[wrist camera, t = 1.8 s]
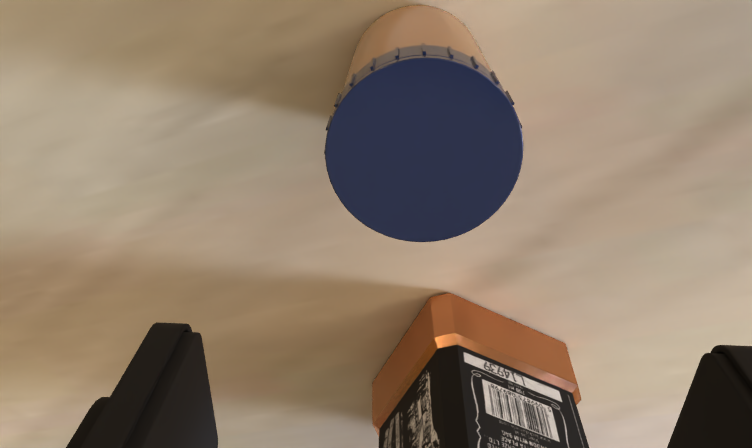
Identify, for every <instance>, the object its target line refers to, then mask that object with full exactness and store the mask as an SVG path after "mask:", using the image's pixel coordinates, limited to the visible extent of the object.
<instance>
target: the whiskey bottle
mask: <svg viewBox="0 0 752 448" xmlns="http://www.w3.org/2000/svg"><path fill="white" fill-rule="evenodd" d="M580 400H581V396H580V392H579V388H578V384H577V381H576V378H575V374H574V371H573V368H572V364H571V361H570V357H569V354H568V351H567V347H566V344H565V343H563V342H561V341H559V340H556V339H554V338H552V337H549V336H547V335H545V334H543V333H540V332H538V331H536V330H533V329H531V328H529V327H527V326H524V325H522V324H520V323H518V322H515V321H513V320H511V319H508V318H506V317H504V316H502V315H499V314H497V313H495V312H492V311H490V310H488V309H486V308H483V307H481V306H479V305H477V304H474V303H472V302H470V301H467V300H465V299H463V298H461V297H458V296H456V295H454V294H451V293H447V294H443V295H438V296H434V297H430V298H429V300H428V301H427V303H426V304H425V306H424V307H423V309H422V310H421V312H420V313H419V315H418V316H417V318H416V319H415V321H414V322H413V324H412V325H411V327H410V328H409V329H408V331H407V332H406V334H405V335H404V337H403V338H402V340H401V341H400V343H399V344H398V346H397V347H396V349H395V350H394V352H393V353H392V355H391V356H390V358H389V359H388V361H387V362H386V363H385V365H384V366H383V368H382V369H381V371H380V372H379V374H378V375H377V377H376V378H375V380H374V381H373V383H372V418H373V426H374V428H375V430H376V432H377V434H378V436H379V448H589V446H588V442H587V439H586V436H585V433H584V429H583V426H582V423H581V420H580V416H579V413H578V410H577V407H576V405H577V404H578V403H579V402H580Z"/></svg>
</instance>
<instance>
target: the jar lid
mask: <svg viewBox="0 0 752 448" xmlns="http://www.w3.org/2000/svg"><path fill="white" fill-rule="evenodd" d="M512 105H514V102H513V100H512V99H511V97H510V95H509V93H508V91H506V92H505V91H504V89H503V88H502V86H501V84H500V82H499V80H498V78H497V77H496V75H495V73H494V72H493V71H492V72H490V71H489V70H488V69H487V68H486V67H485V66H483V65H482V64H481V63H479V62H478V61H477V60H476V58H475V57H474V56H473V55H472V57H470V56H468V55H466V54H464V53H462V52H459V51H456V50H453V49H452V48H451V46H448V47H447V48H446V47H441V46H434V45H425V43H422V45H417V46H408V47H404V48H399V47H395V50H393V51H390V52H387V53H385V54H383V55H381V56H379V57H377V58H374V57H373V58H372V59H371V62H369V63H368V64H366V65H365V66H364V67H363V68H361V69H360V70H359V71H358V72H357V73H356V74H355V73H353V74H352V76H351V80H350V81H349V82H348V83H347V85H346V86H345V88H344V90H343V91H342V93H341V94H340V93H339V94H338V96H337V99H336V102H335V105H334V107H335V109H334V112H333V115H332V116H330V118H329V121H328V124H327V127H326V130H328V132H327V137H326V144H325V152H324V153H325V160H326V167H327V172H328V175H329V179H330V182H331V184H332V186H333V189H334V191H335V193H336V194H337V196H338V198H339V199H340V201H341V202H342V204H343V205H344V206H345V207H346V208H347V210H348V211H349V212H350V213H351V214H352V215H353V216H354V217H355V218H356V219H358V220H359V221H360V222H362V223H363V224H364V225H366V226H367V227H369V228H371V229H373V230H374V231H376V232H379V233H381V234H383V235H386V236H388V237H392V238H395V239H399V240H405V241H412V242H432V241H439V240H445V239H449V238H452V237H456V236H459V235H461V234H463V233H466V232H468V231H470V230H472V229H474V228H475V227H477V226H479V225H480V224H482V223H483V222H484V221H486V220H487V219H489V218H490V217H491V216H492V215H493V214H494V213H495V212H496V211H497V210H498V209H499V208H500V207H501V206H502V204H503V203H504V202H505V201H506V199H507V198H508V196H509V195H510V193H511V191H512V190H513V188H514V185H515V183H516V181H517V179H518V176H519V173H520V169H521V165H522V159H523V136H522V130H521V128H522V125H521V123H520V121H519V119H518V117H517V114H516V112H515V110H514V107H513V106H512Z"/></svg>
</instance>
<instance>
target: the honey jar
mask: <svg viewBox="0 0 752 448" xmlns="http://www.w3.org/2000/svg"><path fill="white" fill-rule="evenodd" d="M422 43H425V45H434V46H441V47H446V48H447V47H448V46H451V48H452V49H453V50H456V51H459V52H462V53H464V54H466V55H468V56H470V57H472V55H473V56H474V57H475V58H476V60H477V61H478V62H479V63H481V64H482V65H483V66H485V67H486V68H487V69H488V70H489V71H490V72H492V71H491V69H490V67H489V66H488V64H487V62H486V60H485V58H484V56H483V54H482V52H481V50H480V48H479V46H478V44H477V42H476V41H475V39H474V37H473V35H472V34H471V32H470V31H469V30H468V28H467V27H466V26H465V25H464V24H463V23H462V22H461V21H460V20H459V19H457V18H456V17H455V16H453V15H452V14H450V13H448V12H446V11H444V10H441V9H439V8H436V7H431V6H425V5H413V6H405V7H401V8H398V9H395V10H392V11H390V12H388V13H386V14H385V15H383V16H381V17H380V18H379V19H377V20H376V21H375V22H374V23H373V24H372V25H371V26H370V27H369V28H368V29H367V30H366V31H365V33H364V34H363V36H362V37H361V39H360V41H359V43H358V45H357V47H356V49H355V53H354V56H353V59H352V62H351V66H350V69H349V72H348V75H347V79H346V82H345V85H344V88H345V86H346V85H347V83H348V82H349V81H350V80H351V76H352V74H353V73H355V74H356V73H357V72H358V71H359V70H360V69H361V68H363V67H364V66H365V65H366V64H368V63H369V62H371V59H372V58H373V57H374V58H377V57H379V56H381V55H383V54H385V53H387V52H390V51H393V50H395V47H399V48H404V47H408V46H417V45H422ZM344 88H343V90H344Z"/></svg>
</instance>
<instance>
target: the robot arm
mask: <svg viewBox="0 0 752 448" xmlns="http://www.w3.org/2000/svg"><path fill="white" fill-rule="evenodd" d="M66 448H218V435H217V429H216V423H215V417H214V411H213V404H212V398H211V392H210V386H209V380H208V374H207V368H206V361H205V355H204V349H203V343H202V338H201V335H200V333H197V332H192V330H191V327H190V325H189V324H180V323H155V324H153V325H152V327H151V328H150V330H149V331H148V333H147V335H146V337H145V338H144V340H143V342H142V343H141V345H140V347H139V349H138V350H137V352H136V354H135V355H134V357H133V359H132V360H131V362H130V364H129V366H128V367H127V369H126V371H125V372H124V374H123V376H122V378H121V379H120V381H119V383H118V384H117V386H116V388H115V389H114V391H113V393H112V395H111V396H110V397H101V398H100V399H98V400H97V401H96V402H95V403H94V404H93V405H92V407H91V408H90V409H89V411H88V413H87V414H86V416H85V418H84V419H83V421H82V422H81V424H80V426H79V427H78V429H77V431H76V432H75V434H74V435H73V437H72V439H71V440H70V442H69V444H68V445H67V447H66ZM667 448H752V346H732V345H718V346H715V347H714V348H713V349H712V351H711V353H706V354H704V355H703V356H702V358H701V360H700V363H699V366H698V368H697V371H696V374H695V376H694V379H693V381H692V384H691V387H690V389H689V392H688V395H687V397H686V400H685V402H684V405H683V408H682V410H681V413H680V416H679V418H678V421H677V423H676V426H675V429H674V431H673V434H672V436H671V439H670V442H669V444H668V447H667Z"/></svg>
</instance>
